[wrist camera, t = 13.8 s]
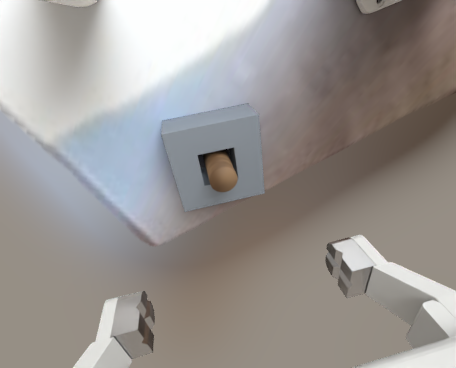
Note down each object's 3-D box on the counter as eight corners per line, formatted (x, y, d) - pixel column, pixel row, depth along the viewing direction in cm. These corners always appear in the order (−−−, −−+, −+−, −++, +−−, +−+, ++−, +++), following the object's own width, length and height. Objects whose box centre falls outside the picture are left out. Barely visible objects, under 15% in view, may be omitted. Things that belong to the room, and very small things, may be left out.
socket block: (248, 103, 41) (258, 114, 36) (254, 175, 49) (264, 193, 44) (162, 120, 40) (161, 134, 35) (183, 192, 47) (184, 212, 42)
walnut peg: (222, 138, 43) (235, 165, 35) (226, 158, 45) (239, 188, 37) (199, 143, 43) (207, 171, 35) (204, 163, 45) (212, 194, 37)
